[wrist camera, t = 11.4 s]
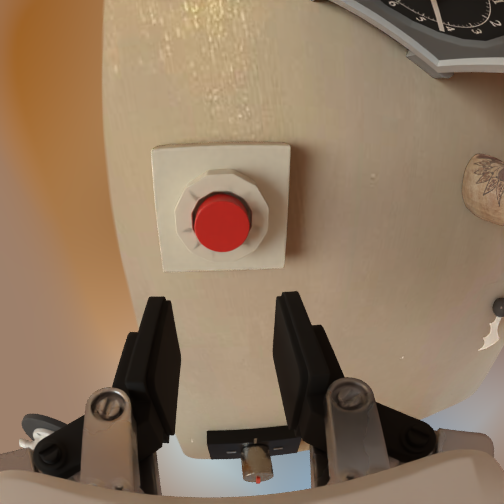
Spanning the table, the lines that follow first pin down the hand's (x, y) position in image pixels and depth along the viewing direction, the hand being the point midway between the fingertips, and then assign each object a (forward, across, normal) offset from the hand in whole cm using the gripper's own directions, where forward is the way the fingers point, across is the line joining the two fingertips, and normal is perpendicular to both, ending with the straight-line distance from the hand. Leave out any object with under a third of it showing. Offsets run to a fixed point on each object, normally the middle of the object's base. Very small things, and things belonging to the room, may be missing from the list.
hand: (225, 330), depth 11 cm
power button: (+12, 0, 0) cm, 12 cm away
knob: (+13, -3, +37) cm, 39 cm away
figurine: (+15, -28, -3) cm, 32 cm away
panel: (+15, -3, +37) cm, 40 cm away
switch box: (+15, 0, 0) cm, 15 cm away
